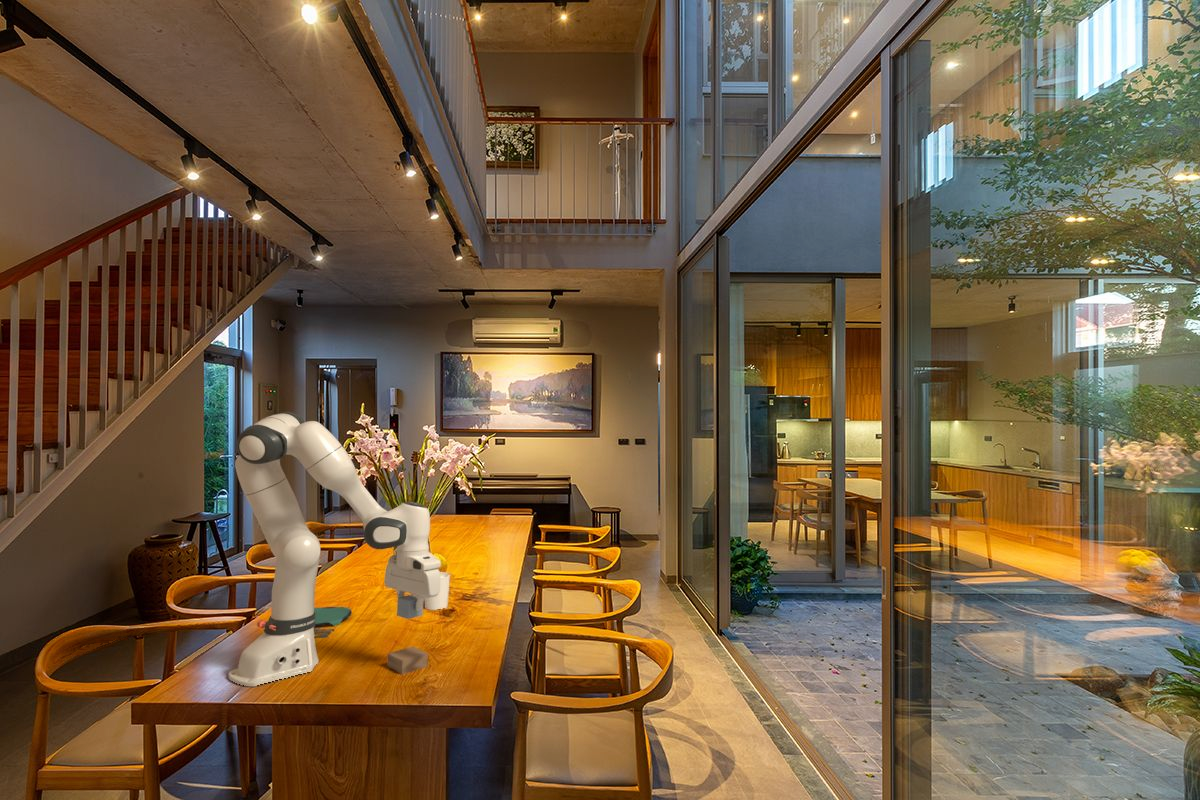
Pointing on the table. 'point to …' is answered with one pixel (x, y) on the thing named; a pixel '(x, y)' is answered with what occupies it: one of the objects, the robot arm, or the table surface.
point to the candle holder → (440, 594)
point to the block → (408, 607)
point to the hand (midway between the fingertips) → (410, 607)
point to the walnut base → (407, 660)
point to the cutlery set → (330, 617)
